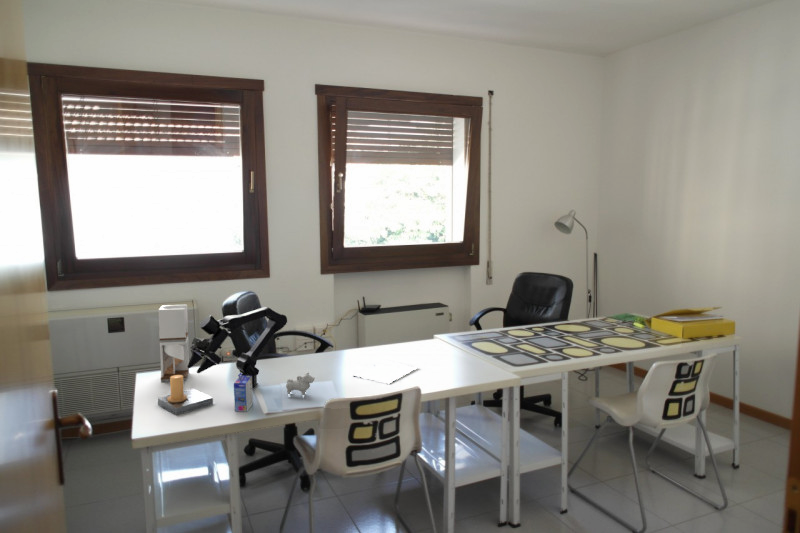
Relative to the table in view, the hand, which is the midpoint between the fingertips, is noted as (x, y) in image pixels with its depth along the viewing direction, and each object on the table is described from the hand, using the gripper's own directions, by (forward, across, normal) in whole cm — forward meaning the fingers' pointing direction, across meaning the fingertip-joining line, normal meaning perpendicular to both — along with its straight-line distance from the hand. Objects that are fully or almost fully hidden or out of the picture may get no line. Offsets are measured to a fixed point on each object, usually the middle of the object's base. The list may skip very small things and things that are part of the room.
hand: (192, 370), depth 224 cm
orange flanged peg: (+15, +2, +4) cm, 16 cm away
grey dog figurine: (-16, +26, +36) cm, 47 cm away
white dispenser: (+5, -35, +14) cm, 38 cm away
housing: (+13, +2, +6) cm, 14 cm away
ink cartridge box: (+1, +21, +18) cm, 28 cm away
